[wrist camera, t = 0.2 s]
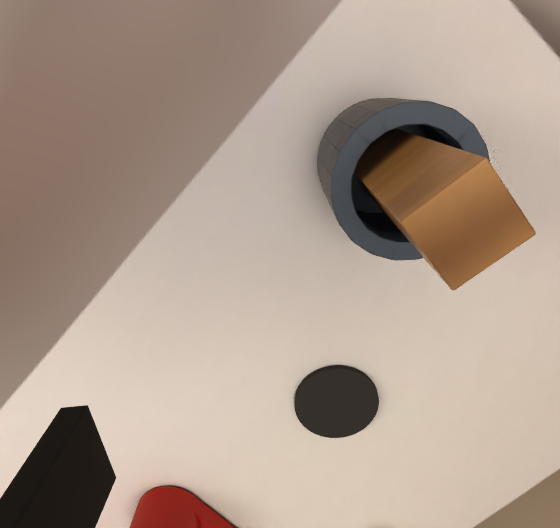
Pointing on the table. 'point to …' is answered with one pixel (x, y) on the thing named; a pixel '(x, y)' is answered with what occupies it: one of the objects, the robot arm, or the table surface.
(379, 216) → the jar
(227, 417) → the table surface
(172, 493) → the lever
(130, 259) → the table surface
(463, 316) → the table surface
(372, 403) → the coaster
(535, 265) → the table surface
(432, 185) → the wooden block
